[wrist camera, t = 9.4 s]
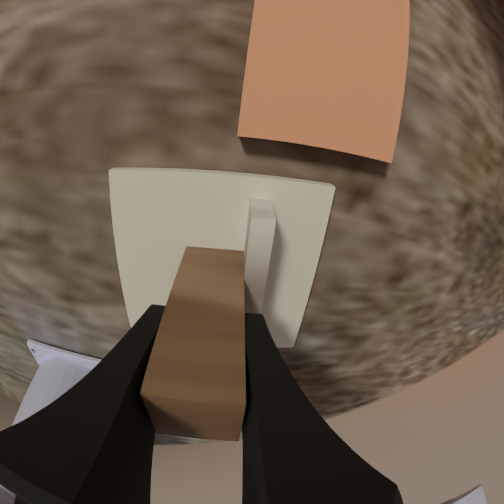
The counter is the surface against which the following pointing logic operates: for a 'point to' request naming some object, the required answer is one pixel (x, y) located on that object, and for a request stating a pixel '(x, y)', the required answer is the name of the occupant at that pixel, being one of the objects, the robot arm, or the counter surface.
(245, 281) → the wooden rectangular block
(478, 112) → the counter surface
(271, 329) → the mat
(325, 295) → the counter surface
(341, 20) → the tile
